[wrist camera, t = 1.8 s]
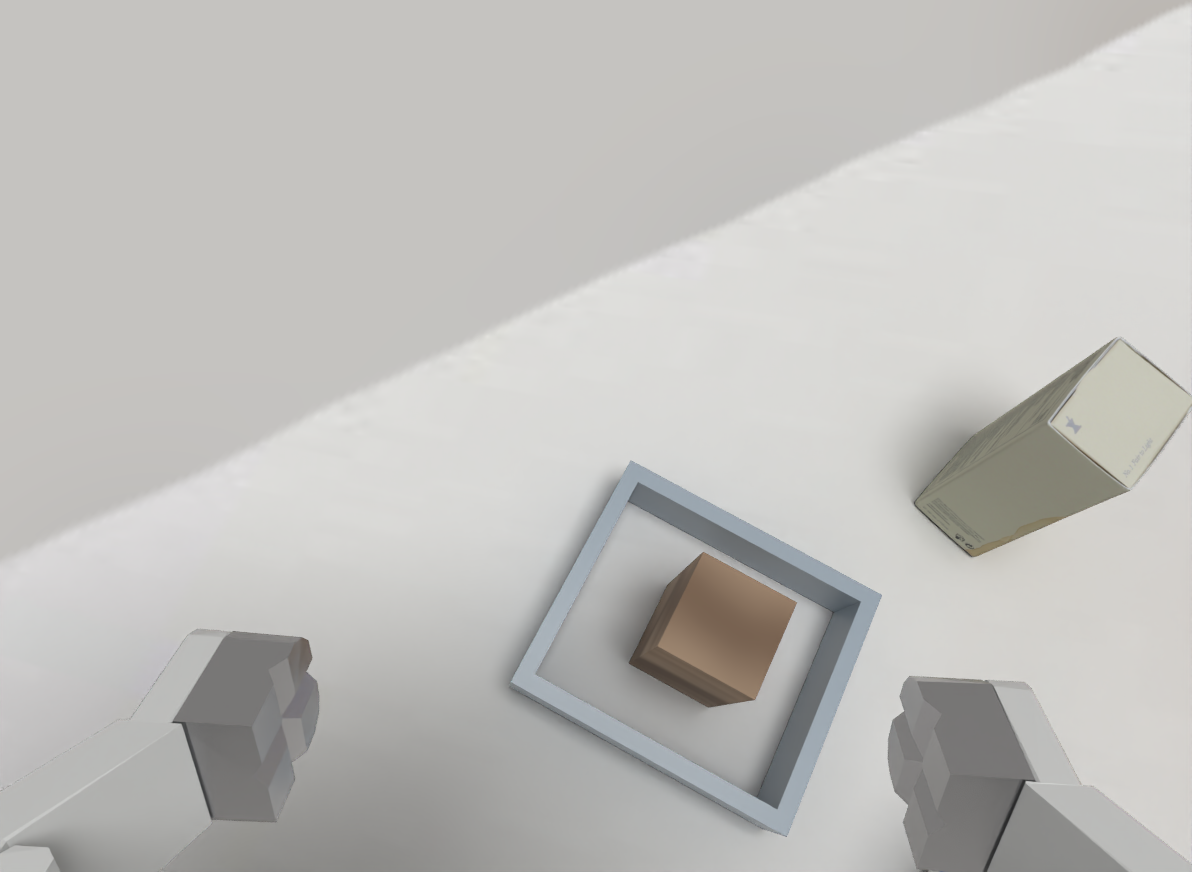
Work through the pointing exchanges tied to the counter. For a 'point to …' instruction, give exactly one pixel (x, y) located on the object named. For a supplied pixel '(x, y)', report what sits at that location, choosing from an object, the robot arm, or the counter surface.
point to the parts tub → (768, 558)
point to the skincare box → (1059, 450)
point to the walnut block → (714, 633)
